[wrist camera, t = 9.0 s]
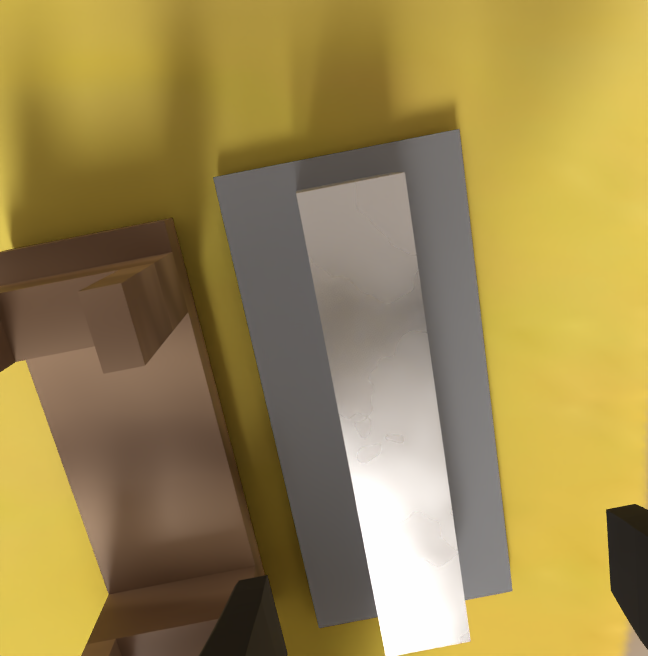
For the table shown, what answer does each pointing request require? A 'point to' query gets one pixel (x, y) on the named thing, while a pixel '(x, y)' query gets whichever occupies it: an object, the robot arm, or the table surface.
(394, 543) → the rail
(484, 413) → the mat
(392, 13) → the table surface
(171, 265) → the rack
